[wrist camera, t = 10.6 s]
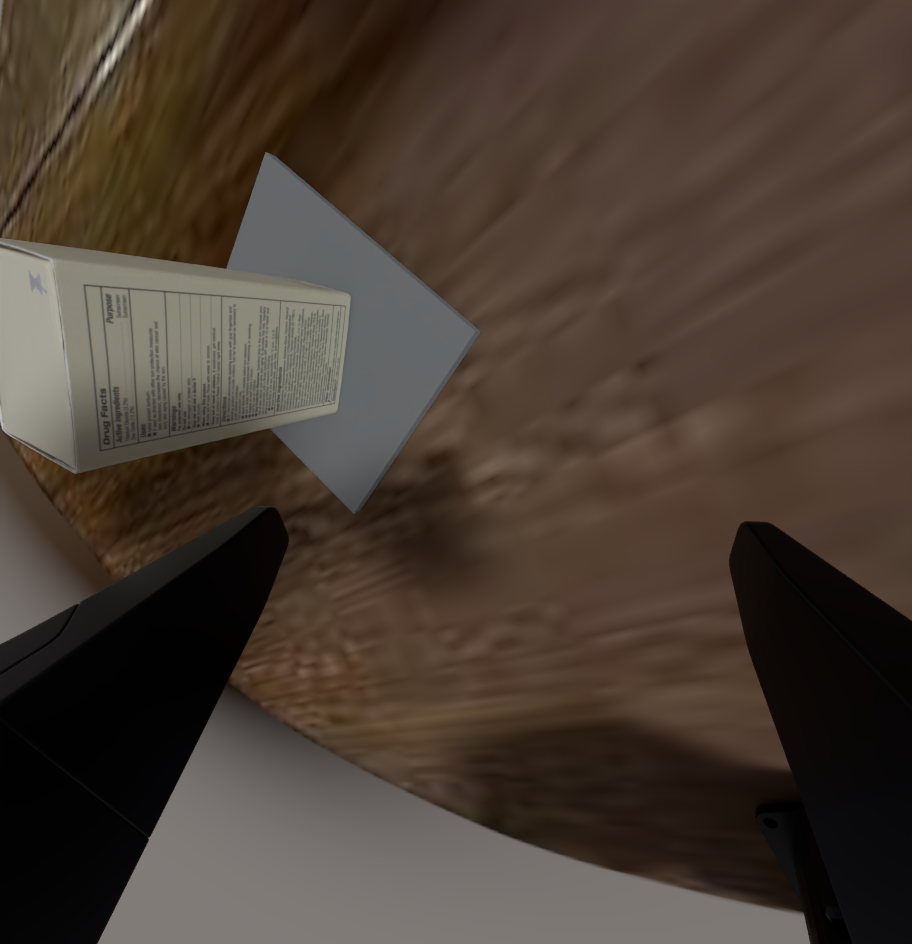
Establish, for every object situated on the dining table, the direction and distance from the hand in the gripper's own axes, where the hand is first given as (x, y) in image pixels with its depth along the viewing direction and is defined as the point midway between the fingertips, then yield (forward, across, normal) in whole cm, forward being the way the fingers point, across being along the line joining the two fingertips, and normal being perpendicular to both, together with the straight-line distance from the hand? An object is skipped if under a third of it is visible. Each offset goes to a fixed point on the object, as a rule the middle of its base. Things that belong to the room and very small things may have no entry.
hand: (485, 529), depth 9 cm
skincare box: (+15, +11, +1) cm, 18 cm away
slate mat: (+15, +11, +1) cm, 19 cm away
